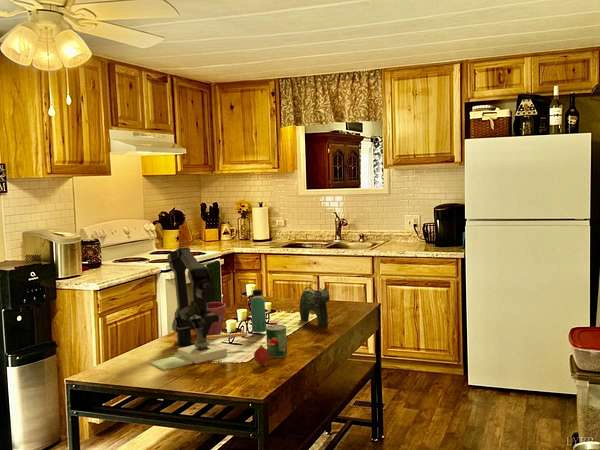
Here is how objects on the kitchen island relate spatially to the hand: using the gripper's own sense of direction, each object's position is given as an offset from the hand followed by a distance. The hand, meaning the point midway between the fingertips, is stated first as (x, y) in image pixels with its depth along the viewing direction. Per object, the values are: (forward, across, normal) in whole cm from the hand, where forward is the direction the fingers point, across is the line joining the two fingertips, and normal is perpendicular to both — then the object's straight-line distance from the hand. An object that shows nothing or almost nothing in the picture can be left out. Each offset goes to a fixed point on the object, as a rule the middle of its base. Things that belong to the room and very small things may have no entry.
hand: (201, 337), depth 259 cm
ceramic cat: (+8, -10, +66) cm, 67 cm away
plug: (+6, 0, 0) cm, 6 cm away
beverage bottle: (+8, -12, +36) cm, 39 cm away
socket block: (+8, 0, 0) cm, 8 cm away
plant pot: (+8, -30, +22) cm, 38 cm away
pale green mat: (+8, 0, -14) cm, 16 cm away
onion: (+8, +28, +9) cm, 30 cm away
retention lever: (+3, -2, +11) cm, 12 cm away
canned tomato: (+8, +20, +22) cm, 31 cm away
